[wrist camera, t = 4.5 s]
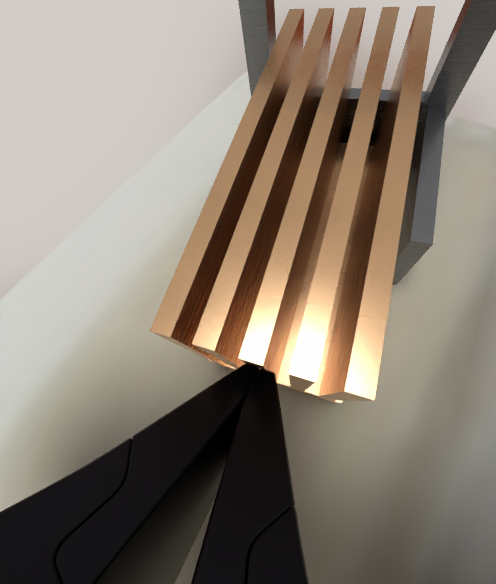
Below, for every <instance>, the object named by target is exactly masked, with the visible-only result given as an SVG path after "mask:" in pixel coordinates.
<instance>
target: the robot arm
mask: <svg viewBox="0 0 496 584" xmlns="http://www.w3.org/2000/svg"><path fill="white" fill-rule="evenodd" d="M216 494H217V495H216ZM215 496H216V498H215ZM214 498H215V502H214V505H213V509H212V512H211V516H210V519H209V523H208V526H207V530H206V533H205V537H204V540H203V544H202V547H201V551H200V554H199V558H198V561H197V565H196V568H195V572H194V575H193V579H192V582H191V584H309V582H308V577H307V573H306V567H305V561H304V556H303V550H302V545H301V539H300V533H299V527H298V520H297V514H296V509H295V508H294V505H295V502H294V495H293V488H292V482H291V475H290V468H289V462H288V455H287V448H286V441H285V435H284V428H283V421H282V415H281V408H280V401H279V395H278V388H277V381H276V375H275V373H274V372H272V371H268V370H265V369H260V370H259V368H258V367H255V366H252V365H249V364H244V365H242V366H241V367H239V368H238V369H236V370H234V371H233V372H231V373H230V374H228V375H227V376H225V377H224V378H222V379H220V380H219V381H217V382H216V383H214V384H213V385H211V386H210V387H208V388H206V389H205V390H203V391H202V392H200V393H199V394H197V395H196V396H194V397H193V398H191V399H189V400H188V401H186V402H185V403H183V404H182V405H180V406H179V407H177V408H175V409H174V410H172V411H171V412H169V413H168V414H166V415H165V416H163V417H162V418H160V419H158V420H157V421H155V422H154V423H152V424H151V425H149V426H148V427H146V428H144V429H143V430H141V431H140V432H138V433H137V434H135V435H134V436H133V438H132V439H131V438H129V439H127V440H126V441H124V442H122V443H121V444H119V445H118V446H116V447H115V448H113V449H112V450H110V451H108V452H107V453H105V454H103V455H102V456H100V457H98V458H97V459H95V460H94V461H92V462H90V463H89V464H87V465H85V466H84V467H82V468H80V469H78V470H77V471H75V472H73V473H71V474H69V475H68V476H66V477H64V478H62V479H60V480H59V481H57V482H55V483H53V484H52V485H50V486H48V487H46V488H44V489H42V490H40V491H38V492H37V493H35V494H33V495H31V496H29V497H27V498H25V499H23V500H22V501H20V502H18V503H16V504H14V505H12V506H10V507H9V508H7V509H5V510H3V511H1V512H0V584H174V583H175V581H176V578H177V576H178V574H179V572H180V570H181V568H182V566H183V564H184V562H185V560H186V557H187V555H188V553H189V551H190V549H191V547H192V545H193V543H194V541H195V538H196V536H197V534H198V532H199V530H200V528H201V526H202V524H203V522H204V520H205V517H206V515H207V513H208V511H209V509H210V507H211V505H212V503H213V501H214Z"/></svg>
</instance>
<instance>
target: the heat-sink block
mask: <svg viewBox="0 0 496 584" xmlns="http://www.w3.org/2000/svg"><path fill="white" fill-rule="evenodd" d="M365 10H366V8H350V9H349V12H348V16H347V19H346V22H345V25H344V28H343V31H342V34H341V37H340V41H339V44H338V47H337V50H336V53H335V56H334V59H333V63H332V66H331V69H330V72H329V75H328V78H327V71H328V62H329V53H330V43H331V34H332V25H333V15H334V8H329V9H328V8H325V9H319V10H318V13H317V15H316V18H315V21H314V23H313V26H312V29H311V31H310V34H309V36H308V39H307V42H306V44H305V47H304V50H303V30H304V9H290V10H289V12H288V14H287V17H286V19H285V21H284V24H283V26H282V28H281V31H280V33H279V35H278V37H277V40H276V42H275V44H274V47H273V49H272V51H271V53H270V56H269V58H268V60H267V63H266V65H265V67H264V69H263V72H262V74H261V76H260V79H259V81H258V83H257V86H256V88H255V90H254V92H253V95H252V97H251V99H250V102H249V104H248V106H247V108H246V111H245V113H244V115H243V118H242V120H241V122H240V124H239V127H238V129H237V131H236V134H235V136H234V138H233V141H232V143H231V145H230V147H229V150H228V152H227V154H226V157H225V159H224V161H223V163H222V166H221V168H220V170H219V173H218V175H217V177H216V180H215V182H214V184H213V186H212V189H211V191H210V193H209V196H208V198H207V200H206V202H205V205H204V207H203V209H202V212H201V214H200V216H199V218H198V221H197V223H196V225H195V228H194V230H193V232H192V235H191V237H190V239H189V241H188V244H187V246H186V248H185V251H184V253H183V255H182V257H181V260H180V262H179V264H178V267H177V269H176V271H175V274H174V276H173V278H172V280H171V283H170V285H169V287H168V290H167V292H166V294H165V296H164V299H163V301H162V303H161V306H160V308H159V310H158V313H157V315H156V317H155V319H154V322H153V324H152V326H151V329H150V331H151V332H153V333H155V334H157V335H159V336H161V337H163V338H165V339H167V340H169V341H172V342H174V343H176V344H178V345H180V346H182V347H184V348H186V349H188V350H190V351H192V352H194V353H196V354H198V355H200V356H202V357H204V358H206V359H207V360H208V361H210V362H212V363H214V364H216V365H219V366H222V367H225V368H228V369H232V370H236V369H238V368H239V367H241V366H242V365H244V364H249V365H252V366H255V367H258V368H259V370H260V369H265V370H268V371H272V372H274V373H275V375H276V381H277V384H278V385H281V386H284V387H287V388H290V389H293V390H297V391H300V392H303V393H306V394H309V395H312V396H315V397H318V398H321V399H324V400H327V401H331V402H334V403H341V402H342V401H368V400H375V394H376V387H377V381H378V374H379V368H380V361H381V355H382V348H383V342H384V335H385V329H386V322H387V316H388V309H389V303H390V296H391V290H392V283H393V277H394V270H395V264H396V257H397V251H398V244H399V238H400V231H401V225H402V218H403V212H404V205H405V199H406V192H407V186H408V179H409V173H410V166H411V160H412V153H413V147H414V140H415V134H416V127H417V121H418V114H419V108H420V101H421V95H422V88H423V82H424V75H425V69H426V62H427V55H428V49H429V42H430V36H431V29H432V23H433V17H434V10H435V6H418V7H417V8H416V12H415V15H414V18H413V21H412V24H411V28H410V31H409V34H408V37H407V40H406V43H405V46H404V49H403V53H402V56H401V59H400V62H399V65H398V69H397V72H396V75H395V78H394V81H393V84H392V87H391V90H390V94H389V97H388V100H387V103H386V106H385V109H384V112H383V116H382V119H381V122H380V125H379V128H378V131H377V135H376V138H375V141H374V144H373V146H370V145H369V142H370V137H371V133H372V128H373V124H374V119H375V115H376V110H377V106H378V101H379V97H380V92H381V88H382V83H383V79H384V74H385V70H386V66H387V61H388V56H389V52H390V48H391V43H392V39H393V34H394V30H395V25H396V21H397V16H398V12H399V7H383V8H382V11H381V15H380V19H379V23H378V27H377V31H376V35H375V39H374V43H373V47H372V50H371V54H370V58H369V63H368V66H367V70H366V74H365V78H364V82H363V86H362V89H361V93H360V97H359V101H358V105H357V109H356V113H355V117H354V121H353V125H352V129H351V132H350V136H349V140H348V143H341V138H342V133H343V127H344V122H345V117H346V111H347V106H348V101H349V95H350V90H351V85H352V80H353V74H354V69H355V64H356V58H357V53H358V48H359V42H360V37H361V32H362V26H363V21H364V16H365Z"/></svg>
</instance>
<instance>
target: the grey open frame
mask: <svg viewBox="0 0 496 584" xmlns="http://www.w3.org/2000/svg"><path fill="white" fill-rule="evenodd" d="M238 1H239V8H240V15H241V22H242V30H243V37H244V45H245V53H246V60H247V68H248V75H249V83H250V90H251V97H252V95H253V92H254V90H255V88H256V86H257V83H258V81H259V79H260V76H261V74H262V72H263V69H264V67H265V65H266V63H267V60H268V58H269V56H270V53H271V51H272V49H273V47H274V44H275V42H276V33H275V10H274V0H238ZM495 30H496V0H465V3H464V5H463V8H462V10H461V12H460V14H459V16H458V19H457V21H456V24H455V26H454V28H453V30H452V33H451V35H450V37H449V40H448V42H447V44H446V46H445V49H444V51H443V53H442V56H441V58H440V60H439V63H438V65H437V67H436V70H435V72H434V74H433V77H432V79H431V81H430V83H429V86H428V88H427V90H426V92H424V91H422V95H421V101H420V108H419V114H418V121H417V127H416V134H415V140H414V147H413V153H412V160H411V166H410V173H409V179H408V186H407V192H406V199H405V205H404V212H403V218H402V225H401V231H400V238H399V244H398V251H397V257H396V264H395V270H394V277H393V284H397V283H398V282H399V281H400V280H401V279H402V278H403V277H404V276H405V274H406V273H407V272H408V271H409V270H410V269H411V268H412V267H413V265H414V264H415V263H416V262H417V261H418V260H419V259H420V258H421V257H422V255H423V254H424V253H425V252H426V251H427V250H428V249H429V248H430V247H431V245H432V244H433V235H434V225H435V215H436V205H437V196H438V186H439V176H440V166H441V156H442V146H443V136H444V126H445V121H446V119H447V117H448V115H449V113H450V112H451V110H452V108H453V106H454V104H455V103H456V101H457V99H458V97H459V95H460V93H461V92H462V90H463V88H464V86H465V84H466V82H467V81H468V79H469V77H470V75H471V73H472V71H473V70H474V68H475V66H476V64H477V62H478V61H479V59H480V57H481V55H482V53H483V51H484V50H485V48H486V46H487V44H488V42H489V41H490V39H491V37H492V35H493V33H494V31H495ZM360 93H361V89H356V88H351V90H350V95H349V101H348V106H347V111H346V117H345V122H344V127H343V133H342V138H341V143H348V140H349V136H350V132H351V129H352V125H353V121H354V117H355V113H356V109H357V105H358V101H359V97H360ZM389 94H390V90H381V92H380V97H379V101H378V106H377V110H376V115H375V119H374V124H373V128H372V133H371V137H370V142H369V145H370V146H373V144H374V141H375V138H376V135H377V131H378V128H379V125H380V122H381V119H382V116H383V112H384V109H385V106H386V103H387V100H388V97H389Z"/></svg>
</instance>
